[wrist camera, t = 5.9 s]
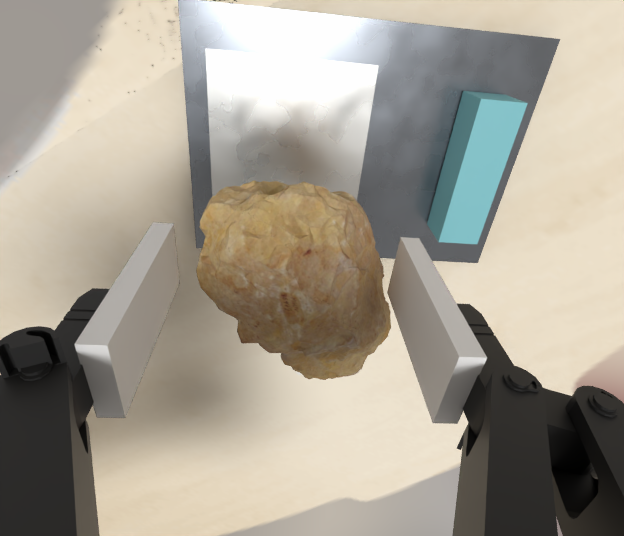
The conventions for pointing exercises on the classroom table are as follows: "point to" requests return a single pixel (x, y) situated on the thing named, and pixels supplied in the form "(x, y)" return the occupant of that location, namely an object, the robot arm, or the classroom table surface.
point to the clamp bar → (474, 165)
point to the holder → (344, 107)
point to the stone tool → (296, 274)
